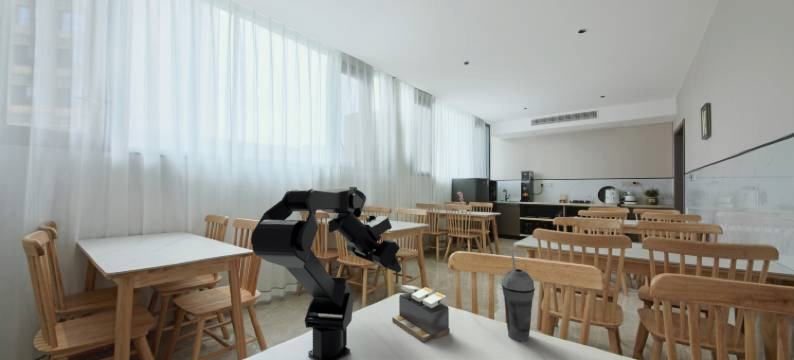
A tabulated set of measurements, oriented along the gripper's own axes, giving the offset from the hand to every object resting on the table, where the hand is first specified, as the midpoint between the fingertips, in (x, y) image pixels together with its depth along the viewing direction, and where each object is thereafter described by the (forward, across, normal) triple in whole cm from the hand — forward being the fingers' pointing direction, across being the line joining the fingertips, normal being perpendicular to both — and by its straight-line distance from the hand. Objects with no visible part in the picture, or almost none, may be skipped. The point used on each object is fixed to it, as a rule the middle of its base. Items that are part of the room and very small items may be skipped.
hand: (390, 267), depth 83 cm
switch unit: (+11, -9, +8) cm, 16 cm away
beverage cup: (+23, -26, -4) cm, 35 cm away
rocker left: (+6, -5, +1) cm, 8 cm away
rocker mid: (+6, -9, +1) cm, 11 cm away
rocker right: (+6, -14, +1) cm, 15 cm away
